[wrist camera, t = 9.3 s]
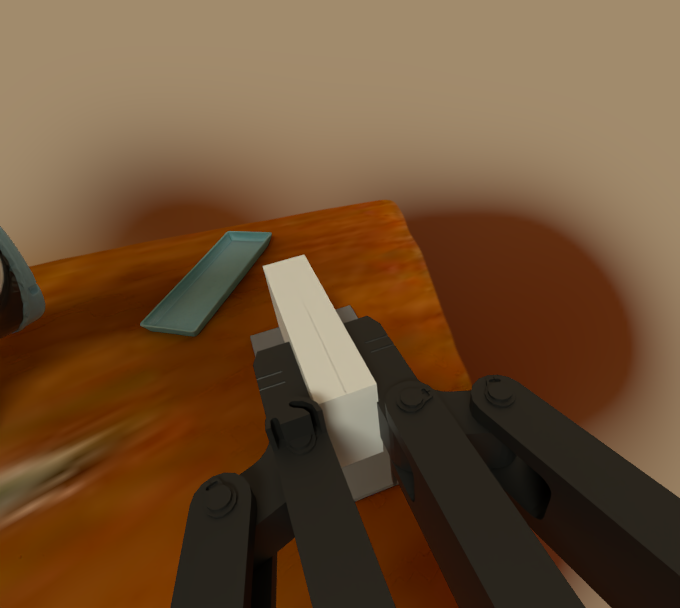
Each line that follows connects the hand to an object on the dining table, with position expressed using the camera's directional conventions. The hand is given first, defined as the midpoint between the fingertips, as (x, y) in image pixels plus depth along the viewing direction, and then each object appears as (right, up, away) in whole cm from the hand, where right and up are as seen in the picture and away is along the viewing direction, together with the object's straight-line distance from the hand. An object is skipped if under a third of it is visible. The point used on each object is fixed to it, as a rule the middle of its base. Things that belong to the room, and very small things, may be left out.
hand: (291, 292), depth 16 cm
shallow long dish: (-18, +2, +54) cm, 57 cm away
